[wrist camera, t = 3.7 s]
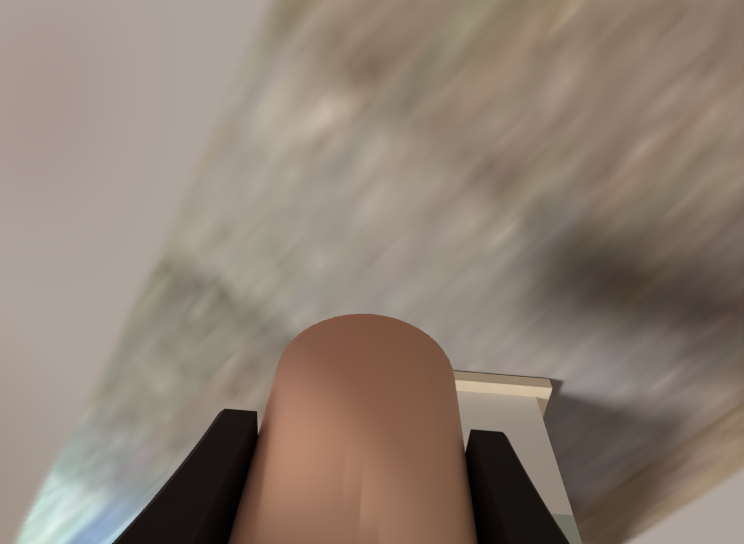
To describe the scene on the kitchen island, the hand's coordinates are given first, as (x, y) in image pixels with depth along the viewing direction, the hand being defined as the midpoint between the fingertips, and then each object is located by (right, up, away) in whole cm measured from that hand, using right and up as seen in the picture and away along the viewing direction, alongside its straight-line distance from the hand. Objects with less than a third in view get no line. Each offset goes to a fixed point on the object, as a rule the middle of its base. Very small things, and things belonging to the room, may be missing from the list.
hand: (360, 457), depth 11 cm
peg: (0, +1, +2) cm, 2 cm away
